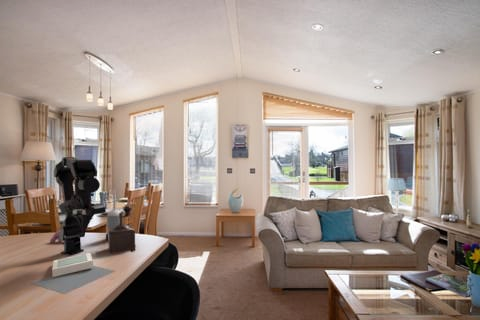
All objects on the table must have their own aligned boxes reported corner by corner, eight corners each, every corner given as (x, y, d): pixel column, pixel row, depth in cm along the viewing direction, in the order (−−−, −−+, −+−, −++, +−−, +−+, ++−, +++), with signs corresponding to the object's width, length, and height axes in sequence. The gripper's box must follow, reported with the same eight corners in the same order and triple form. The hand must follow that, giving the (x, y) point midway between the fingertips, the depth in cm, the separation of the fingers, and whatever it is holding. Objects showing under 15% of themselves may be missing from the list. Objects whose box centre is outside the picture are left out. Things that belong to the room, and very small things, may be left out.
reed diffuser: (125, 236, 144) (124, 188, 144) (121, 240, 136) (120, 190, 136) (109, 236, 143) (108, 188, 143) (103, 241, 135) (102, 190, 135)
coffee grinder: (137, 250, 121) (136, 209, 121) (109, 255, 115) (109, 212, 115) (132, 241, 134) (131, 204, 134) (107, 245, 129) (106, 207, 129)
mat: (31, 285, 88) (31, 283, 88) (84, 265, 104) (84, 263, 104) (64, 296, 81) (64, 293, 81) (115, 273, 97) (115, 270, 97)
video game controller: (73, 245, 135) (77, 230, 138) (67, 243, 131) (71, 228, 134) (54, 244, 136) (59, 230, 139) (48, 243, 132) (53, 228, 135)
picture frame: (52, 277, 92) (54, 267, 103) (93, 267, 98) (90, 259, 109) (52, 269, 92) (53, 260, 103) (92, 259, 98) (90, 252, 109)
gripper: (47, 193, 105) (47, 234, 105) (79, 194, 97) (80, 238, 97) (75, 190, 115) (75, 227, 115) (106, 191, 107) (107, 231, 107)
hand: (83, 231), depth 108 cm, fingers closed
